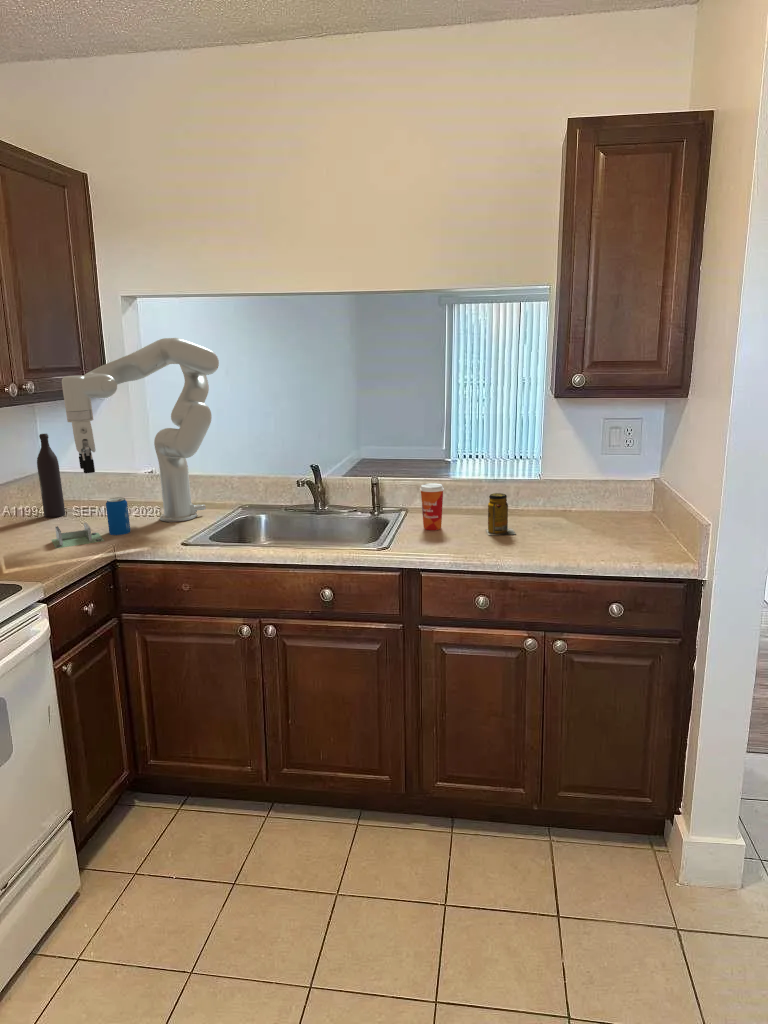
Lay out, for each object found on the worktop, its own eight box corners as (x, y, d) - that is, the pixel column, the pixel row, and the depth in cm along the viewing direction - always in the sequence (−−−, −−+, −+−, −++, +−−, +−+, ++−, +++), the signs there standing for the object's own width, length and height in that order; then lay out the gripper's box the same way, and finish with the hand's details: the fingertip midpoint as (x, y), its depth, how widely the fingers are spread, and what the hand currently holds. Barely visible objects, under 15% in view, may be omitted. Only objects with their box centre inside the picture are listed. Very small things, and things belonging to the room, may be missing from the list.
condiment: (485, 529, 224) (485, 492, 221) (512, 529, 224) (512, 491, 221) (488, 535, 217) (488, 497, 214) (516, 535, 217) (516, 496, 214)
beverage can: (123, 538, 227) (119, 501, 224) (105, 537, 228) (101, 501, 226) (134, 532, 233) (130, 497, 230) (116, 532, 234) (112, 496, 232)
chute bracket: (87, 535, 228) (86, 521, 227) (92, 541, 220) (90, 527, 219) (56, 540, 223) (54, 526, 222) (60, 546, 216) (58, 532, 215)
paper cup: (415, 528, 227) (414, 485, 224) (430, 523, 233) (430, 481, 230) (434, 532, 222) (434, 488, 219) (449, 527, 228) (449, 484, 224)
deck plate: (98, 535, 231) (98, 531, 231) (105, 543, 221) (104, 539, 221) (51, 542, 224) (51, 538, 224) (56, 551, 214) (55, 547, 214)
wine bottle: (59, 512, 265) (47, 432, 258) (69, 514, 261) (58, 433, 254) (40, 516, 260) (28, 434, 253) (51, 519, 256) (39, 435, 249)
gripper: (96, 417, 216) (104, 473, 220) (89, 413, 230) (96, 465, 235) (69, 419, 212) (77, 476, 216) (64, 415, 227) (72, 467, 231)
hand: (87, 470), depth 225 cm, fingers open, 9 cm apart
